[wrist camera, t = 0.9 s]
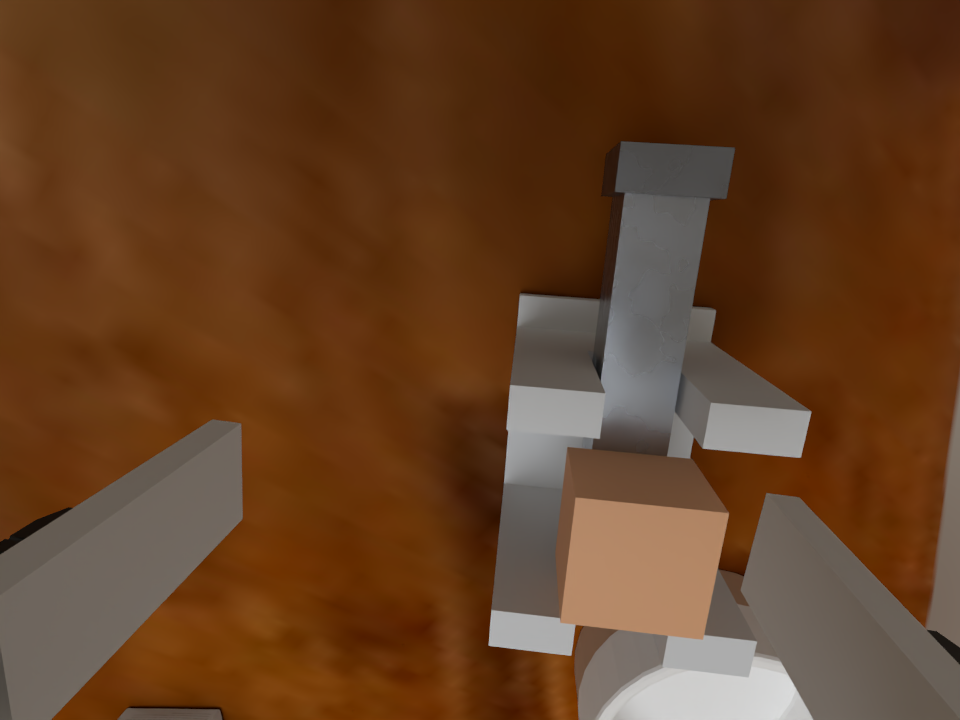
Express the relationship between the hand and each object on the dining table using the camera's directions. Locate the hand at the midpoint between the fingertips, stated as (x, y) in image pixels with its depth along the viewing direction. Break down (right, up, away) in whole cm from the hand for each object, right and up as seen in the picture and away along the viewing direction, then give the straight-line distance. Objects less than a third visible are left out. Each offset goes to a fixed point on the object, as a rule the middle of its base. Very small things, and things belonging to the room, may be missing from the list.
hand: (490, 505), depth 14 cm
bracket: (+8, -1, +23) cm, 24 cm away
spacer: (+7, -4, +14) cm, 16 cm away
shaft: (+7, +2, +16) cm, 18 cm away
